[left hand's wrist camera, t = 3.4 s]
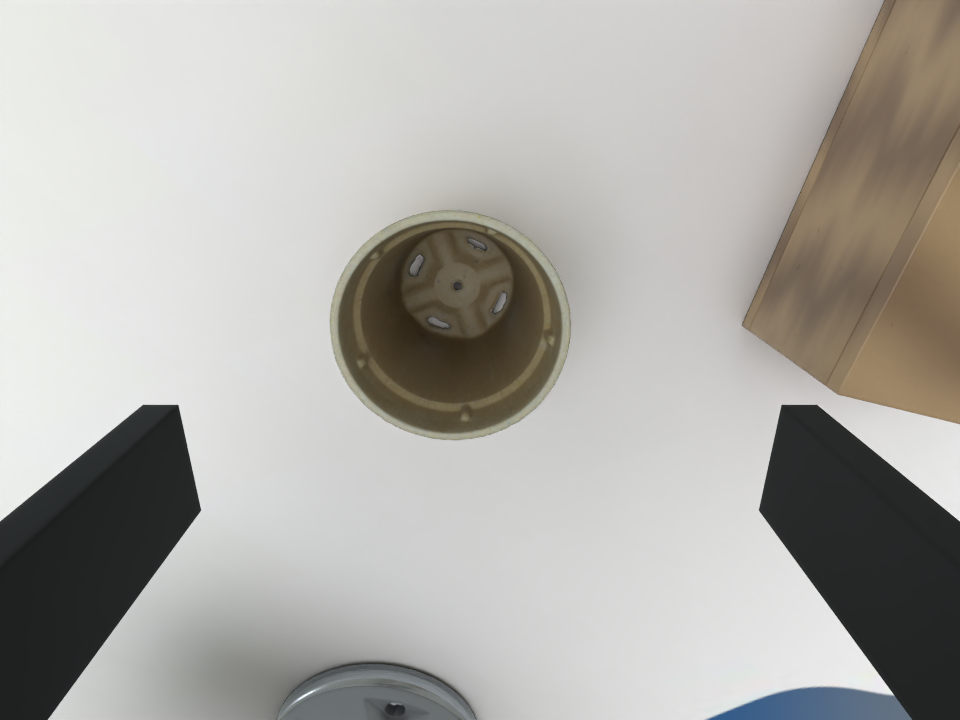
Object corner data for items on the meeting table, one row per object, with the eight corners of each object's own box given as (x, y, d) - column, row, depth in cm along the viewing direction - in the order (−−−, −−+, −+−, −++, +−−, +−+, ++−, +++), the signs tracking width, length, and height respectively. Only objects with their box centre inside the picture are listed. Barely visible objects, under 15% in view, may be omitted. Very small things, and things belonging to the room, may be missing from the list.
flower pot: (364, 186, 29) (320, 207, 21) (553, 192, 29) (582, 214, 21) (372, 361, 32) (336, 437, 24) (540, 366, 32) (561, 443, 24)
